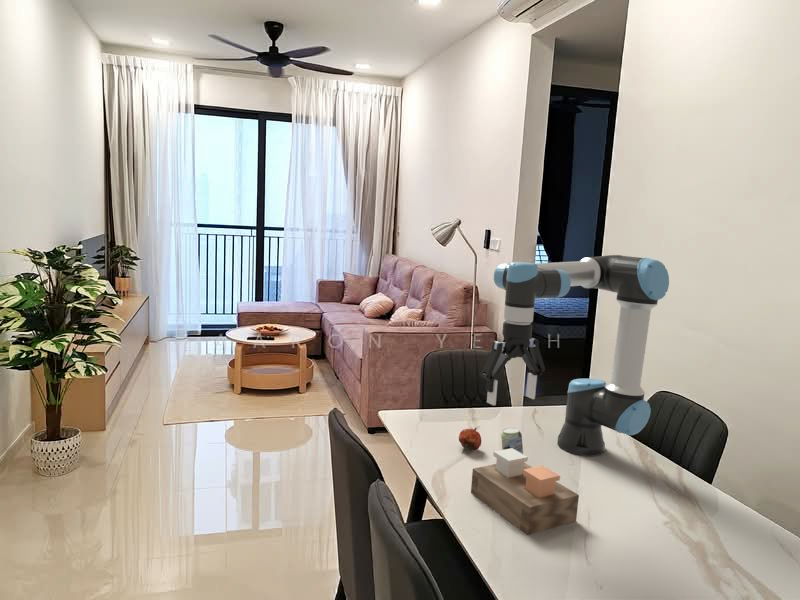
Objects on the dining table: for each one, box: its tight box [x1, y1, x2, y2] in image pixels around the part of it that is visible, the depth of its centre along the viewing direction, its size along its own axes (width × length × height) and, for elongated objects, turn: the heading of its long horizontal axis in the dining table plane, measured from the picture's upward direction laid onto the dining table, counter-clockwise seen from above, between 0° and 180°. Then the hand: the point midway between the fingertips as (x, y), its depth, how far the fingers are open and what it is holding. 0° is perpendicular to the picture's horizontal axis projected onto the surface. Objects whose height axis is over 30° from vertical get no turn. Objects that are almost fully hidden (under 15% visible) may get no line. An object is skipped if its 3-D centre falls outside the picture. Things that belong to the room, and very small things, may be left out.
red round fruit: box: [458, 427, 482, 454], centre depth 192 cm, size 7×7×10 cm
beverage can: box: [501, 427, 524, 455], centre depth 180 cm, size 6×7×12 cm
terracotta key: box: [523, 465, 561, 498], centre depth 151 cm, size 6×6×8 cm
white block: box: [492, 448, 528, 478], centre depth 161 cm, size 6×6×8 cm
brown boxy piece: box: [470, 462, 580, 536], centre depth 157 cm, size 16×23×7 cm
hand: (511, 400), depth 159 cm, fingers open, 13 cm apart
